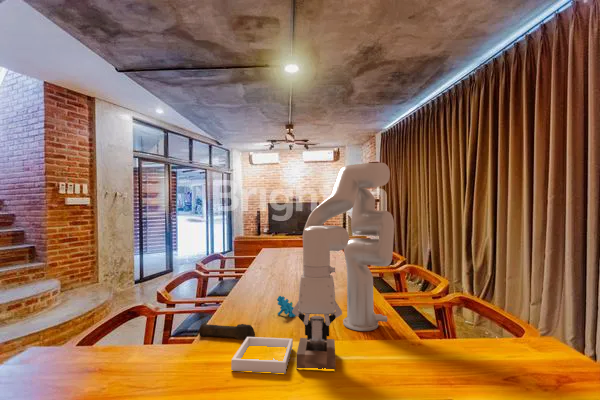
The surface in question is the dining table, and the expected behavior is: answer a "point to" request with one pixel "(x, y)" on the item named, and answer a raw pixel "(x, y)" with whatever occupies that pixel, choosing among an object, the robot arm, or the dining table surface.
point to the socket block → (316, 355)
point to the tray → (262, 365)
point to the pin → (317, 333)
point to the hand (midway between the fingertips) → (317, 337)
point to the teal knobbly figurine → (285, 306)
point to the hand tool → (227, 331)
